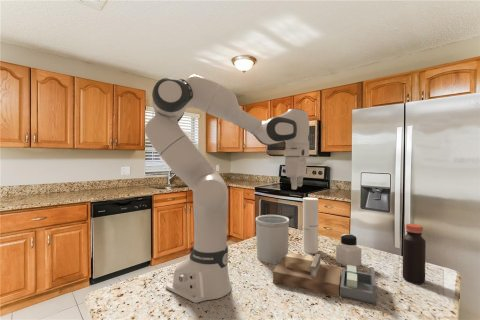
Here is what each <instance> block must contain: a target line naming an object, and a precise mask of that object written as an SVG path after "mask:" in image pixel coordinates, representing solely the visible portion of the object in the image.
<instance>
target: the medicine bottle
mask: <svg viewBox="0 0 480 320" xmlns="http://www.w3.org/2000/svg"><path fill="white" fill-rule="evenodd" d="M357 240H358V239H357V236H355V235H354V234H352V233H351V234H350V233H343V234H340V244H336V246H335V247H336V250H335V261H336V263H338V264H341V265H342V266H344V267H345V268H347V265H351V266H356V267H359V266H360V267H361V266H362V248H361V247H359V246H357V245H358V243H357Z"/></svg>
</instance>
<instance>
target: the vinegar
mask: <svg viewBox="0 0 480 320" xmlns="http://www.w3.org/2000/svg"><path fill="white" fill-rule="evenodd" d="M405 232H406V234H405V235H404V236H403V237H402V278H403V279H404V280H405V281H406V282H409V283H412V284H416V285H423V284H426V253H427V252H426V250H427V249H426V245H427V243H426V242H427V241H426V240H425V239H424V238H423V236H422V235H423V226H422V225H421V224H418V223H417V224H416V223H407V224H405Z"/></svg>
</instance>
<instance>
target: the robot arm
mask: <svg viewBox="0 0 480 320" xmlns="http://www.w3.org/2000/svg"><path fill="white" fill-rule="evenodd" d="M151 97H152V98H151V99H152V107H153V111H154V116H153V117H152V118H151V119H149V120H148V121H147V123H146V124H145V127H144V133H145V136H146V137H147V139H148V141H149V142H150V144H151V145H152V147H153V148H154V150H155V151H156V152H157V154H158V155H159V156H160V157H161V159H162V160H163V161H164V162H165V163H166V165H167V166H168V167H169V168H170V169H171V171H172V172H173V173H174V174H175V175H176V176H177V178H179V179H180V180H181V181H182V182H183V183H185V185H186V186H187V187H188V188H189V189H190V190H191V191H192V205H193V208H192V209H193V210H192V211H193V228H194V229H193V243H194V244H193V245H192V246H191V247H190V248H188V249H187V254H189V256H188V257H187V258H185V260H183V261H182V262H181V263H180V264H178V265H177V266H176V267H175V269H174V270H173V271H174V273H173V276H172V277H171V278H170V279H169V280H168V281H167V283H166V285H165V289H166V290H168V291H170V292H172V293H175V294H176V295H178V296H180V297H183V298H184V299H186V300H188V301H190V302H192V303H200V302H201V303H202V302H203V301H209V300H215V299H216V300H217V299H219V298H220V299H221V298H223V297H225V296H226V295H228V294H229V293H230V292H231V290H232V284H231V279H230V275H229V269H228V267H229V266H228V262H229V246H228V245H227V244H228V233H227V232H228V210H229V208H228V207H229V205H228V204H229V190H228V189H229V187H228V186H227V184H226V182H225V180H224V178H223V177H222V176H221V174H220V173H218V172H219V171H217V170H216V169H215V167H214V166H213V165H212V164H211V163H210V162H209V160H208V159H207V158H206V157H205V156H204V155H203V153H202V152H201V151H200V150H199V148H198V147H197V146H196V145H195V144H194V142H193V141H192V140H191V139H190V138H189V136H188V135H187V134H186V132H185V131H184V130H182V128H181V126H180V125H179V122H180V121H181V119H182V118H183V116H184V115H185V111H186V110H187V109H188V108H194V109H199V110H201V111H202V112H204V113H206V114H208V115H210V116H213V117H215V118H218V119H221V120H224V121H226V122H228V123H232V124H234V125H235V126H237V127H239V128H241V129H242V130H245V131H246V132H248V133H250V134H252V135H253V136H254V138H255V139H256V140H257V141H258V142H259V143H260V144H262V145H265V146H270V145H271V146H272V145H274V144H279V143H282V142H285V149H284V150H283V157H285V158H284V166H285V176H286V178H289V179H290V180H289V181H290V185H291V190H297V189H298V187H300V188H301V187H302V186H303V182H304V181H303V179H304V175H307V157H310V140H309V135H310V118H309V115H308V114H309V113H307V111H305V110H303V109H299V108H290V109H287V111H286V112H284V113H282V114H279V115H277V116H273V117H271V118H269V119H266V120H264V119H263V120H261V119H259V118H257V117H255V116H253V115H252V114H250V113H248V112H247V111H245V110H243V109H242V107H241V106H240V105H239V101H238V98H237V96H236V94H235V93H234V92H233V91H232V90H230V89H229V88H227V87H225V86H224V85H222V84H220V83H218V82H216V81H213V80H211V79H209V78H206V77H203V76H199V75H196V74H192V75H190V76H189V77H187V78H186V79H183V78H173V77H164V78H161V79H159V80H158V81H157V82H156V83H155V85H154V87H153V89H152V94H151Z"/></svg>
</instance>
